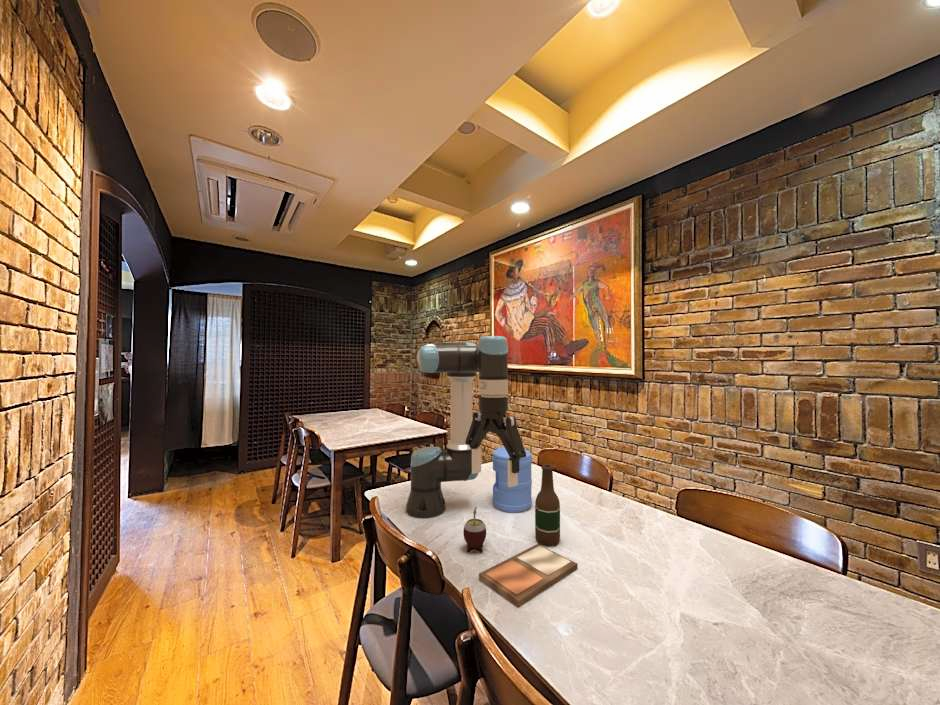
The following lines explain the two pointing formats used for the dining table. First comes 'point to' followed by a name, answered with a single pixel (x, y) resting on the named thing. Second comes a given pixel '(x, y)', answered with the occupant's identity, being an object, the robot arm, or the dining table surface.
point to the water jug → (516, 495)
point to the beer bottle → (547, 511)
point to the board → (527, 574)
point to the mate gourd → (474, 533)
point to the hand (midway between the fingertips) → (493, 479)
